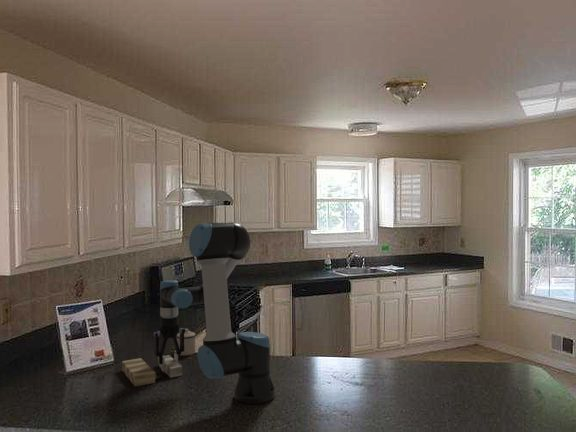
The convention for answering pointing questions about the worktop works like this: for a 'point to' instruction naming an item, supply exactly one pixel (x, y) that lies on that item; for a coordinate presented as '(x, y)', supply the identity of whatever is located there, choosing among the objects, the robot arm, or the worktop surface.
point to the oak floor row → (138, 372)
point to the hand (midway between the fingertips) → (169, 369)
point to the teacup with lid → (187, 342)
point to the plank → (171, 367)
